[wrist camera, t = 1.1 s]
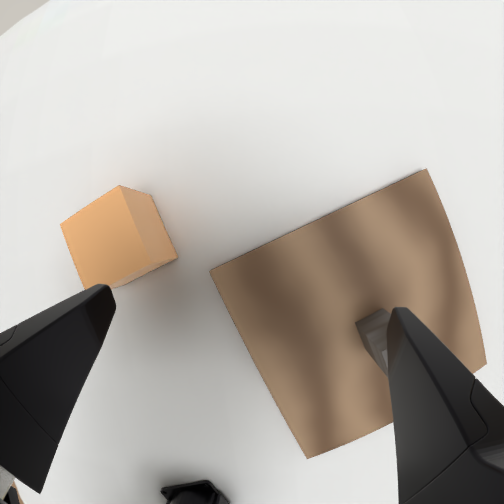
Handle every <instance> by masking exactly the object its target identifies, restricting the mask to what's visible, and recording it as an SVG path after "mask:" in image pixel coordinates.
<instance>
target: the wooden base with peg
mask: <svg viewBox="0 0 504 504" xmlns="http://www.w3.org/2000/svg"><path fill="white" fill-rule="evenodd" d="M209 272H210V274H211V277H212V279H213V281H214V283H215V285H216V287H217V289H218V291H219V293H220V295H221V297H222V299H223V301H224V303H225V305H226V307H227V309H228V312H229V314H230V316H231V318H232V320H233V322H234V324H235V326H236V328H237V330H238V332H239V334H240V335H241V337H242V339H243V341H244V343H245V345H246V347H247V349H248V351H249V353H250V355H251V357H252V359H253V361H254V363H255V365H256V367H257V369H258V370H259V372H260V374H261V376H262V378H263V380H264V382H265V384H266V386H267V387H268V389H269V391H270V393H271V395H272V397H273V399H274V401H275V402H276V404H277V406H278V408H279V410H280V412H281V413H282V415H283V417H284V419H285V421H286V423H287V424H288V426H289V428H290V430H291V432H292V433H293V435H294V437H295V439H296V440H297V442H298V444H299V446H300V447H301V449H302V451H303V453H304V454H305V456H306V458H307V459H309V458H312V457H314V456H317V455H320V454H322V453H325V452H328V451H330V450H333V449H335V448H338V447H340V446H342V445H345V444H347V443H350V442H352V441H354V440H356V439H359V438H361V437H363V436H365V435H367V434H370V433H372V432H374V431H376V430H378V429H380V428H382V427H384V426H386V425H388V424H390V423H392V422H393V413H392V405H391V397H390V390H389V381H388V358H387V337H386V332H387V326H388V323H389V320H390V316H391V312H392V310H393V308H394V307H407V308H408V309H409V310H411V311H412V312H413V313H414V314H415V315H416V316H417V317H418V318H419V319H420V320H421V321H422V322H423V323H424V324H425V325H426V326H427V327H428V328H429V329H430V330H431V331H432V332H433V333H434V334H435V335H436V336H437V337H438V338H439V339H440V340H441V341H442V342H443V343H444V344H445V345H446V346H447V347H448V348H449V350H450V351H451V352H452V353H453V354H454V355H455V356H456V357H457V358H458V359H459V360H460V361H461V362H462V363H463V364H464V365H465V366H466V367H467V368H468V369H469V371H470V372H471V373H472V374H473V373H475V372H476V371H477V370H479V369H480V368H482V367H483V366H484V365H486V364H487V362H486V356H485V350H484V344H483V339H482V334H481V329H480V325H479V320H478V316H477V311H476V307H475V303H474V299H473V295H472V292H471V288H470V284H469V281H468V277H467V274H466V270H465V267H464V264H463V261H462V257H461V254H460V251H459V248H458V245H457V242H456V240H455V237H454V234H453V231H452V228H451V226H450V223H449V220H448V218H447V215H446V213H445V210H444V208H443V205H442V203H441V200H440V198H439V195H438V193H437V191H436V188H435V186H434V184H433V181H432V179H431V177H430V175H429V173H428V170H427V168H426V169H424V170H422V171H420V172H418V173H416V174H413V175H411V176H409V177H407V178H405V179H403V180H401V181H399V182H396V183H394V184H392V185H390V186H388V187H386V188H384V189H382V190H379V191H377V192H375V193H373V194H371V195H369V196H367V197H365V198H362V199H360V200H358V201H356V202H354V203H352V204H350V205H348V206H346V207H343V208H341V209H339V210H337V211H335V212H333V213H331V214H329V215H326V216H324V217H322V218H320V219H318V220H316V221H314V222H312V223H310V224H307V225H305V226H303V227H301V228H299V229H297V230H295V231H293V232H290V233H288V234H286V235H284V236H282V237H280V238H278V239H276V240H274V241H271V242H269V243H267V244H265V245H263V246H261V247H259V248H257V249H254V250H252V251H250V252H248V253H246V254H244V255H242V256H240V257H238V258H235V259H233V260H231V261H229V262H227V263H225V264H223V265H221V266H219V267H216V268H214V269H212V270H210V271H209Z"/></svg>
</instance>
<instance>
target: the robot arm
mask: <svg viewBox="0 0 504 504" xmlns="http://www.w3.org/2000/svg"><path fill="white" fill-rule="evenodd" d="M115 311H116V303H115V300H114V297H113V294H112V291H111V288H110V286H109V285H107V284H96V285H94V286H92V287H90V288H88V289H86V290H84V291H82V292H80V293H78V294H76V295H74V296H72V297H70V298H68V299H66V300H64V301H62V302H60V303H58V304H56V305H54V306H52V307H50V308H48V309H46V310H44V311H42V312H40V313H38V314H36V315H34V316H33V317H31V318H29V319H27V320H25V321H23V322H21V323H19V324H18V325H15V326H13V327H11V328H10V329H8V330H6V331H4V332H2V333H0V504H20V503H19V500H18V495H17V491H16V489H15V488H13V487H12V486H11V485H12V483H13V481H14V479H15V478H17V479H18V480H20V481H21V482H22V483H24V484H25V485H27V486H28V487H30V488H31V489H33V490H34V491H36V492H37V493H39V494H40V493H41V491H42V489H43V486H44V483H45V480H46V477H47V474H48V472H49V469H50V466H51V463H52V461H53V458H54V455H55V453H56V450H57V447H58V444H59V442H60V439H61V437H62V434H63V432H64V429H65V427H66V425H67V422H68V420H69V417H70V415H71V413H72V410H73V408H74V406H75V403H76V401H77V399H78V397H79V394H80V392H81V390H82V388H83V385H84V383H85V381H86V379H87V377H88V374H89V372H90V370H91V368H92V366H93V364H94V362H95V360H96V358H97V355H98V353H99V351H100V349H101V347H102V345H103V342H104V339H105V337H106V334H107V331H108V329H109V326H110V324H111V321H112V318H113V316H114V313H115ZM386 337H387V358H388V381H389V390H390V397H391V405H392V413H393V423H394V433H395V444H396V456H397V472H398V496H399V504H504V406H503V405H502V404H501V403H500V402H499V401H498V400H497V399H496V398H495V397H494V396H493V395H492V394H491V393H490V392H489V391H488V390H487V389H486V388H485V387H484V386H483V384H482V383H481V382H480V381H479V380H478V379H477V378H476V379H475V376H474V375H473V374H472V373H471V372H470V371H469V369H468V368H467V367H466V366H465V365H464V364H463V363H462V362H461V361H460V360H459V359H458V358H457V357H456V356H455V355H454V354H453V353H452V352H451V351H450V350H449V348H448V347H447V346H446V345H445V344H444V343H443V342H442V341H441V340H440V339H439V338H438V337H437V336H436V335H435V334H434V333H433V332H432V331H431V330H430V329H429V328H428V327H427V326H426V325H425V324H424V323H423V322H422V321H421V320H420V319H419V318H418V317H417V316H416V315H415V314H414V313H413V312H412V311H411V310H409V309H408V308H407V307H394V308H393V310H392V312H391V316H390V320H389V323H388V326H387V332H386ZM205 484H206V485H205ZM161 493H162V494H163V495H164V497H165V498H166V499H167V500H168V501H167V503H166V504H229V503H228V502H227V501H226V500H225V498H224V497H223V496H222V495H221V494H220V493H219V492H218V491H217V490H216V488H215V487H214V486H213V485H212V483H211V482H209V481H201V482H196V483H190V484H185V485H178V486H172V487H165V488H162V489H161Z"/></svg>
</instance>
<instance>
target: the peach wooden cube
mask: <svg viewBox="0 0 504 504" xmlns="http://www.w3.org/2000/svg"><path fill="white" fill-rule="evenodd" d="M60 226H61V229H62V232H63V235H64V237H65V240H66V243H67V246H68V248H69V251H70V254H71V256H72V259H73V262H74V264H75V267H76V269H77V272H78V274H79V277H80V279H81V282H82V284H83V286H84V289H85V290H86V289H88V288H90V287H92V286H94V285H96V284H107V285H109V286H110V288H111V289H113V288H116V287H119V286H122V285H125V284H127V283H129V282H131V281H133V280H134V279H136V278H138V277H140V276H142V275H144V274H146V273H148V272H150V271H152V270H154V269H156V268H158V267H160V266H162V265H164V264H166V263H168V262H170V261H172V260H174V259H176V258H178V256H177V254H176V251H175V249H174V247H173V245H172V243H171V240H170V238H169V236H168V234H167V231H166V229H165V227H164V225H163V222H162V220H161V218H160V215H159V213H158V211H157V208H156V206H155V204H154V201H153V199H152V197H151V195H148V194H145V193H142V192H139V191H136V190H133V189H130V188H127V187H123V186H120V185H119V186H117V187H115V188H114V189H112V190H111V191H109V192H107V193H106V194H104V195H103V196H101V197H100V198H98V199H97V200H95V201H93V202H92V203H90V204H89V205H87V206H86V207H84V208H83V209H81V210H80V211H78V212H77V213H76V214H74V215H73V216H71V217H70V218H68V219H67V220H65V221H64V222H63V223H61V224H60Z"/></svg>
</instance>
